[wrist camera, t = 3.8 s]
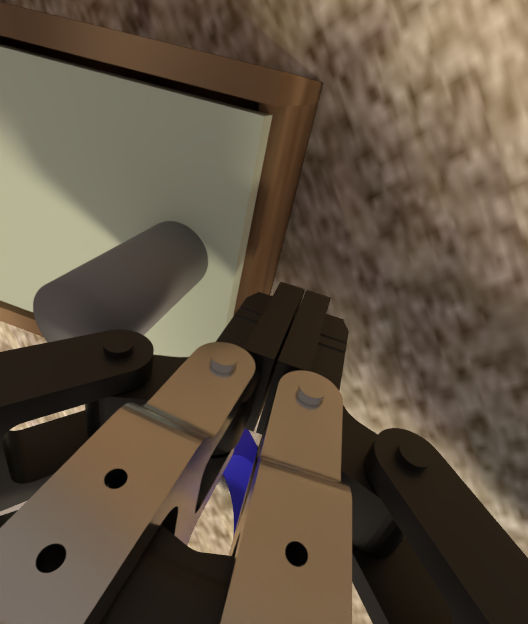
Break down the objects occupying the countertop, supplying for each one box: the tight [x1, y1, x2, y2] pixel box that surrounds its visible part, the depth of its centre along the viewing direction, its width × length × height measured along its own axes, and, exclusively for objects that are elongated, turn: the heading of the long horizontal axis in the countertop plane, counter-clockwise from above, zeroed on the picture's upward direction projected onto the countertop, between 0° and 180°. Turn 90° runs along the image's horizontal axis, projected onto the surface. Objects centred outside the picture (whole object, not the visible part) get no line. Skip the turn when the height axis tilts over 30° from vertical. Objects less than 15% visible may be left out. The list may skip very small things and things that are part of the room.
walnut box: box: [0, 2, 323, 337], centre depth 17 cm, size 16×12×7 cm
